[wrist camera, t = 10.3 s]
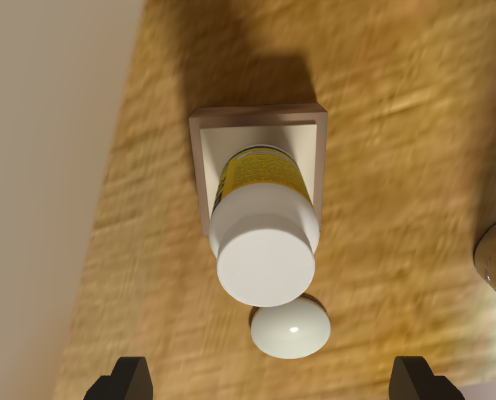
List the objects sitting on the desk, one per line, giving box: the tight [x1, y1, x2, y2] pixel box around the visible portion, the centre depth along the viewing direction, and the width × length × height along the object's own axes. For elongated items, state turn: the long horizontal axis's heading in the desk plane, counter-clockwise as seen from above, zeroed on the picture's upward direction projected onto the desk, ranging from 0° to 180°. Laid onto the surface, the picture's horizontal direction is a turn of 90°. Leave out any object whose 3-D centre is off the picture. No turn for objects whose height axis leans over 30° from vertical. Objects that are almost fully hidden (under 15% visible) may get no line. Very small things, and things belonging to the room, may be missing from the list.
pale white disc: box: [251, 296, 330, 359], centre depth 37 cm, size 9×9×1 cm
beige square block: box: [189, 103, 328, 236], centre depth 27 cm, size 10×10×4 cm
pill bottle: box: [209, 144, 319, 307], centre depth 20 cm, size 6×6×11 cm
